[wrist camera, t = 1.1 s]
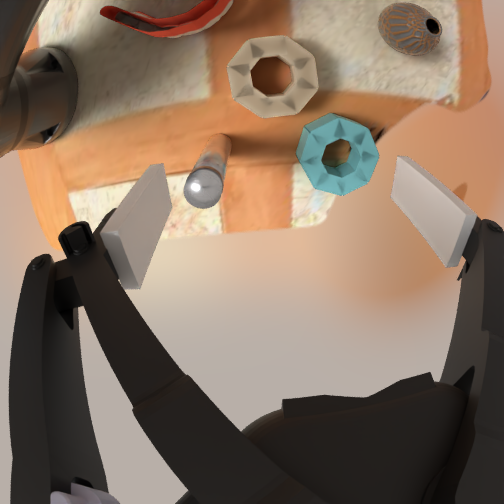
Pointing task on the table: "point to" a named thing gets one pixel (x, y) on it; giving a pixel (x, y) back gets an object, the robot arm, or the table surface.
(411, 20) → the vase
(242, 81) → the bead birch
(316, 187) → the bead teal
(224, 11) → the toy
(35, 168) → the table surface
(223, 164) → the capped vial
